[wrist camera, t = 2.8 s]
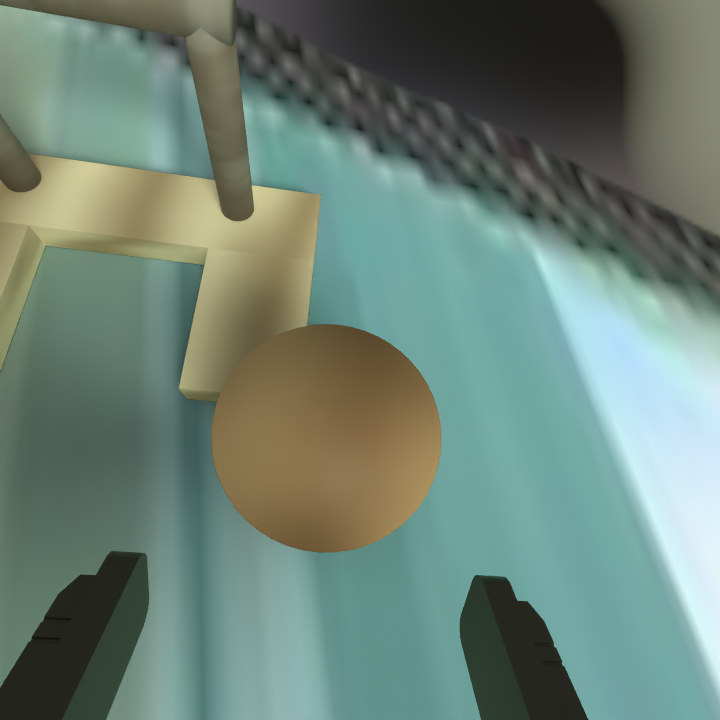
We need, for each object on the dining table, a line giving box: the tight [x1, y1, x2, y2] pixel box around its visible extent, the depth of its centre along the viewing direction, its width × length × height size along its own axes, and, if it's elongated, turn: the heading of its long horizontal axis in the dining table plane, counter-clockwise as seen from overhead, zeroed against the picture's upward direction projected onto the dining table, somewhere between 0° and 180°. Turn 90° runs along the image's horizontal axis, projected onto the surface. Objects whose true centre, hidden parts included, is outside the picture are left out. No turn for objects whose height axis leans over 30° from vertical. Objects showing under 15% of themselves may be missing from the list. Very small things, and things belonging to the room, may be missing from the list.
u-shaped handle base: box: [0, 0, 321, 402], centre depth 17 cm, size 18×11×12 cm, turn 87°
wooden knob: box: [211, 324, 441, 552], centre depth 16 cm, size 6×6×10 cm
